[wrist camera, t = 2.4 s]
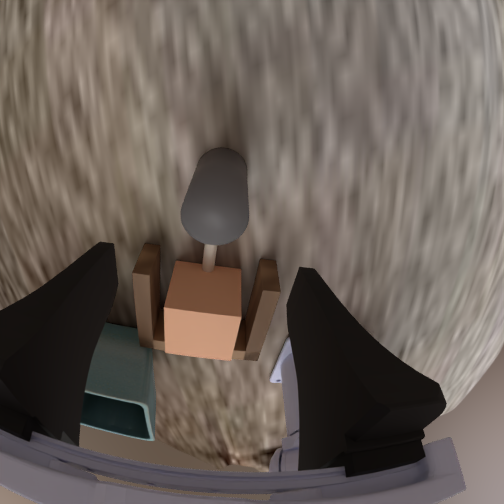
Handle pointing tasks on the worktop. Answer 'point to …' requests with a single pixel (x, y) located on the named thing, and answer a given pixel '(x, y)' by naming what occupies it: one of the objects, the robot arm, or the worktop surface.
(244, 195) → the tethered block
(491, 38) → the worktop surface
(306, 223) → the worktop surface
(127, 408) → the flower pot
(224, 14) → the worktop surface
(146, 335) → the lane
